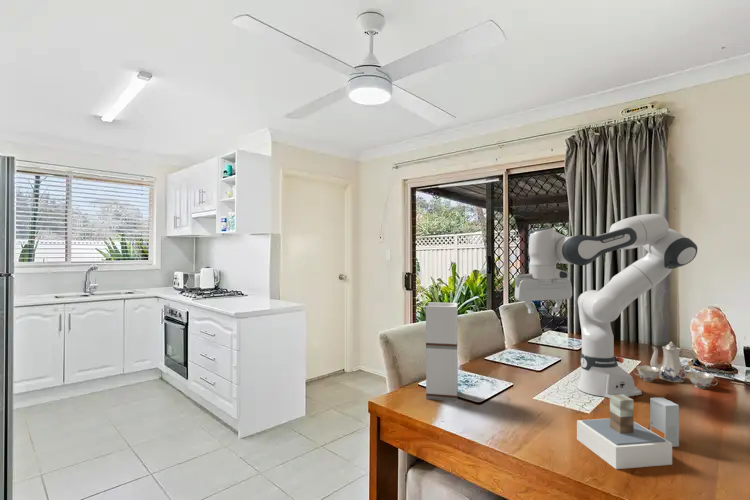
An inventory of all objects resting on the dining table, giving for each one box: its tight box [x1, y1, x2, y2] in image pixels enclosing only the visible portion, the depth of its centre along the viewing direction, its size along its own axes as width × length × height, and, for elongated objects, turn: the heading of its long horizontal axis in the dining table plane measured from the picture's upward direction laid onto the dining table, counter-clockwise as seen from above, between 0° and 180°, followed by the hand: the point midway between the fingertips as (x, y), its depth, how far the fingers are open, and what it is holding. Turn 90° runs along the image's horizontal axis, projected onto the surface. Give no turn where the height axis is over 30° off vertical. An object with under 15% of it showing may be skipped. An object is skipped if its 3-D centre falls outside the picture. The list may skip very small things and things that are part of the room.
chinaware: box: [632, 341, 719, 390], centre depth 168 cm, size 28×17×17 cm, turn 66°
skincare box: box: [649, 397, 680, 448], centre depth 116 cm, size 6×4×12 cm
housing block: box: [609, 395, 635, 433], centre depth 111 cm, size 4×4×9 cm
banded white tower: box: [425, 301, 459, 402], centre depth 154 cm, size 11×11×35 cm
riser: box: [576, 417, 673, 470], centre depth 111 cm, size 16×16×6 cm
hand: (543, 312), depth 142 cm, fingers open, 8 cm apart
